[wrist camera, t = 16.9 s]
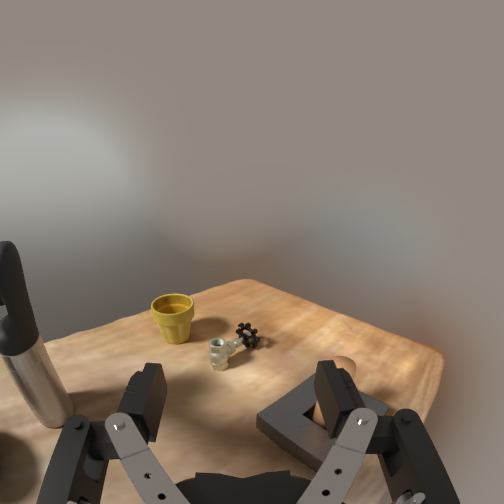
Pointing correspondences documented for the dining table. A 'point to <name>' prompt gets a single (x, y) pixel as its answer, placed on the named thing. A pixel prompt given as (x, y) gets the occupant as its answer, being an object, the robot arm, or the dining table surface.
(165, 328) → the plant pot
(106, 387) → the dining table surface
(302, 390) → the socket block
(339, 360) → the peg
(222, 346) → the valve
